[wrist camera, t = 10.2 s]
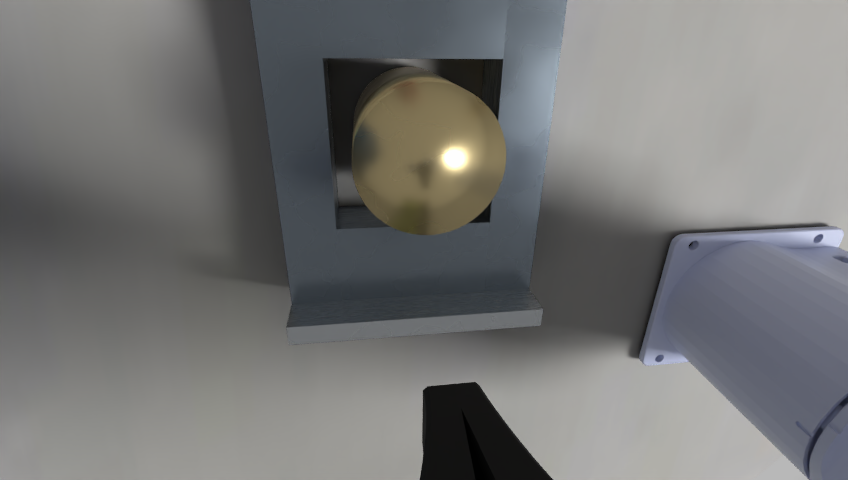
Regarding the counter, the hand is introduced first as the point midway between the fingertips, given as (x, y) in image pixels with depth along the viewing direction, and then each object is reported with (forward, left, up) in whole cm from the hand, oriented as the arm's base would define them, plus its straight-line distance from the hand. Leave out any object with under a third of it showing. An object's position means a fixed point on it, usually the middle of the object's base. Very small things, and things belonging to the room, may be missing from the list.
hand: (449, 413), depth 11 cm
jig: (0, -5, -10) cm, 11 cm away
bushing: (0, -5, -10) cm, 11 cm away
